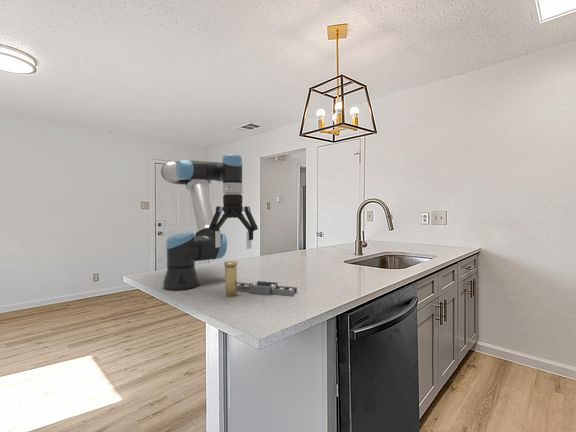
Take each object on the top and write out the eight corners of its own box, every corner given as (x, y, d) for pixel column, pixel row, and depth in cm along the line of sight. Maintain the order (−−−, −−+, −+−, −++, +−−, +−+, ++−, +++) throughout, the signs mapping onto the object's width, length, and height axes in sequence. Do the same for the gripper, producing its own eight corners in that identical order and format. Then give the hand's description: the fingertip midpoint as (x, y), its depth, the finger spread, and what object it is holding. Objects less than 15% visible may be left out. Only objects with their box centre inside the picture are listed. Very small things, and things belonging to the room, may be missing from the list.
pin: (222, 296, 120) (221, 263, 119) (229, 292, 124) (228, 261, 124) (233, 297, 118) (233, 263, 118) (239, 293, 123) (239, 261, 122)
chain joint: (225, 290, 127) (225, 283, 127) (235, 285, 135) (235, 279, 135) (291, 297, 118) (291, 289, 117) (298, 291, 125) (298, 284, 125)
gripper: (199, 194, 121) (200, 247, 122) (258, 193, 113) (258, 250, 114) (210, 194, 128) (210, 245, 129) (265, 194, 120) (266, 247, 121)
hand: (233, 247), depth 121 cm, fingers open, 13 cm apart
